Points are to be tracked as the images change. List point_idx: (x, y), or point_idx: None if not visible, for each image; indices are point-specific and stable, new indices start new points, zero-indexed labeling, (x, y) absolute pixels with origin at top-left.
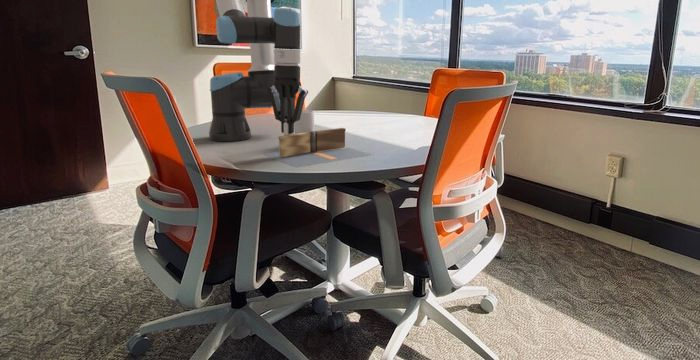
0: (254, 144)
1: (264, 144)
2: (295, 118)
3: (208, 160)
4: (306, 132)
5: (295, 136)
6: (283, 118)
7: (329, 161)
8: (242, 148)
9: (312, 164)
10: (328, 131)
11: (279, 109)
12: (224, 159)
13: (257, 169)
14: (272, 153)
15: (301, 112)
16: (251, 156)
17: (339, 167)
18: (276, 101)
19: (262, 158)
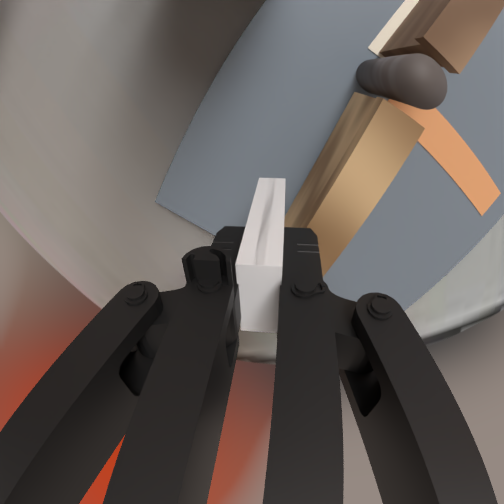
0: (24, 63)
1: (46, 35)
2: (368, 375)
3: (95, 301)
4: (386, 117)
5: (340, 246)
6: (230, 363)
7: (476, 241)
8: (34, 139)
9: (426, 291)
10: (494, 13)
11: (112, 394)
12: (111, 285)
13: (272, 347)
14: (190, 183)
15: (442, 376)
16: (139, 230)
17: (494, 273)
18: (72, 476)
19: (195, 244)
